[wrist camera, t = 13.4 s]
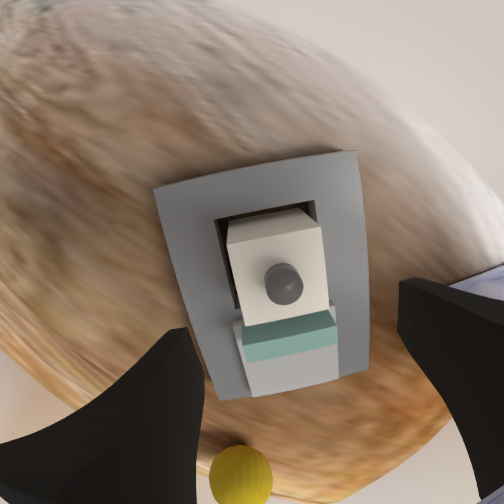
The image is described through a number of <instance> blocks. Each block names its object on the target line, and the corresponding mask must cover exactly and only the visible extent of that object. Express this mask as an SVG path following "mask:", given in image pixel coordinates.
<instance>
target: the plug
mask: <svg viewBox="0 0 504 504" xmlns="http://www.w3.org/2000/svg"><path fill="white" fill-rule="evenodd" d="M226 245H227V250H228V254H229V258H230V263H231V267H232V272H233V276H234V280H235V285H236V289H237V293H238V297H239V302H240V306H241V310H242V314H243V318H244V323H245V326H251V325H256V324H261V323H266V322H272V321H277V320H281V319H286V318H291V317H296V316H300V315H305V314H310V313H314V312H318V311H323V310H327V309H329V297H328V286H327V276H326V266H325V257H324V248H323V239H322V231H321V226H320V225H319V224H317V223H316V222H315V221H314V220H313V219H312V218H310V217H309V216H308V215H307V214H306V213H304V212H303V211H302V210H301V209H300V208H299V207H298V208H293V209H287V210H282V211H277V212H271V213H266V214H261V215H256V216H251V217H246V218H241V219H236V220H231V221H229V225H228V235H227V244H226Z"/></svg>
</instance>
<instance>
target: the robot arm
mask: <svg viewBox="0 0 504 504" xmlns="http://www.w3.org/2000/svg"><path fill="white" fill-rule="evenodd" d="M397 331H398V333H399V335H400V337H401V339H402V341H403V343H404V345H405V346H406V348H407V350H408V352H409V353H410V355H411V356H412V357H413V359H414V360H415V361H416V363H417V364H418V365H419V367H420V368H421V369H422V371H423V372H424V373H425V375H426V376H427V377H428V379H429V380H430V381H431V383H432V384H433V386H434V387H435V388H436V390H437V391H438V392H439V394H440V395H441V397H442V398H443V400H444V402H445V403H446V405H447V407H448V409H449V411H450V413H451V415H452V417H453V419H454V421H455V423H456V425H457V427H458V430H459V432H460V434H461V436H462V439H463V441H464V443H465V446H466V449H467V452H468V454H469V458H470V461H471V464H472V467H473V471H474V474H475V478H476V482H477V487H478V492H479V497H480V498H481V501H480V502H479V503H477V504H504V265H502V266H500V267H497V268H495V269H492V270H490V271H487V272H484V273H482V274H479V275H477V276H474V277H471V278H468V279H466V280H463V281H460V282H457V283H455V284H452V285H449V286H446V285H443V284H439V283H436V282H432V281H429V280H425V279H420V278H410V279H407V280H403V281H399V307H398V326H397ZM203 406H204V372H203V369H202V366H201V364H200V361H199V358H198V356H197V353H196V350H195V348H194V345H193V342H192V339H191V337H190V334H189V331H188V328H187V327H184V328H178V329H171V330H169V331H168V332H166V333H165V334H164V335H163V336H162V337H161V338H160V339H159V340H158V341H157V342H156V343H155V344H154V345H153V346H152V347H151V348H150V349H149V350H148V352H147V353H146V354H145V355H144V356H143V357H142V358H141V359H140V360H139V361H138V362H137V363H136V364H135V365H134V366H133V367H131V368H130V369H129V370H128V371H127V372H126V373H125V374H124V375H123V376H122V377H121V378H120V379H118V380H117V381H116V382H115V383H114V384H113V385H112V386H111V387H109V388H108V389H107V390H106V391H104V392H103V393H102V394H100V395H99V396H98V397H96V398H95V399H94V400H92V401H91V402H90V403H88V404H87V405H85V406H83V407H82V408H80V409H79V410H77V411H75V412H74V413H72V414H70V415H69V416H67V417H65V418H64V419H62V420H60V421H58V422H56V423H54V424H52V425H50V426H49V427H46V428H44V429H42V430H39V431H37V432H35V433H32V434H30V435H27V436H24V437H21V438H18V439H15V440H12V441H9V442H5V443H2V444H0V497H2V498H3V499H4V500H5V501H6V502H8V503H9V504H197V498H196V458H197V449H198V441H199V434H200V427H201V420H202V413H203Z"/></svg>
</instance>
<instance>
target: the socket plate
mask: <svg viewBox="0 0 504 504" xmlns="http://www.w3.org/2000/svg"><path fill="white" fill-rule="evenodd" d="M153 193H154V197H155V201H156V205H157V209H158V213H159V217H160V221H161V225H162V229H163V232H164V236H165V240H166V243H167V247H168V250H169V254H170V257H171V261H172V264H173V268H174V271H175V274H176V278H177V281H178V284H179V287H180V291H181V294H182V297H183V300H184V303H185V306H186V309H187V312H188V316H189V319H190V322H191V324H192V327H193V330H194V333H195V336H196V339H197V342H198V345H199V347H200V350H201V353H202V356H203V359H204V361H205V364H206V367H207V369H208V372H209V375H210V377H211V380H212V383H213V385H214V388H215V390H216V393H217V395H218V398H219V400H220V401H224V400H231V399H238V398H245V397H251V396H252V393H251V389H250V386H249V382H248V379H247V376H246V372H245V369H244V365H243V362H242V358H241V355H240V351H239V347H238V344H237V340H236V337H235V333H234V329H233V322H234V321H239V320H244V318H243V314H242V310H241V306H240V302H239V297H238V294H236V295H235V292H234V288H233V283H232V279H231V275H230V271H229V267H228V263H227V258H226V254H225V250H224V246H223V241H222V237H221V233H220V228H219V224H218V220H217V219H219V218H224V217H228V216H233V215H238V214H243V213H248V212H253V211H258V210H263V209H268V208H273V207H278V206H283V205H289V204H294V203H299V202H305V201H307V205H308V211H309V217H310V218H312V219H313V220H314V221H315V222H316V223H317V224H319V225H320V226H321V231H322V239H323V248H324V257H325V266H326V276H327V286H328V297H329V301H332V302H333V303H334V305H335V312H336V325H337V335H338V343H337V344H338V367H339V377H343V376H346V375H350V374H353V373H357V372H360V371H364V370H367V369H369V339H370V298H369V268H368V250H367V236H366V224H365V214H364V204H363V195H362V187H361V179H360V172H359V165H358V158H357V151H356V150H347V151H337V152H329V153H322V154H315V155H308V156H302V157H296V158H289V159H283V160H278V161H272V162H266V163H261V164H256V165H251V166H245V167H240V168H236V169H231V170H226V171H221V172H217V173H212V174H208V175H203V176H199V177H195V178H190V179H186V180H182V181H178V182H174V183H170V184H166V185H162V186H160V187H157V188H155V189H153Z"/></svg>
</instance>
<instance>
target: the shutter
mask: <svg viewBox="0 0 504 504" xmlns="http://www.w3.org/2000/svg"><path fill="white" fill-rule="evenodd" d="M233 329H234V333H235V337H236V340H237V344H238V347H239V351H240V355H241V358H242V362H243V365H244V369H245V372H246V376H247V379H248V382H249V386H250V389H251V393H252V396H253V397H258V396H264V395H269V394H275V393H280V392H285V391H290V390H295V389H299V388H304V387H308V386H312V385H316V384H321V383H325V382H329V381H332V380H336V379H339V367H338V344H337V343H338V335H337V325H336V312H335V305H334V303H333V302H332V301H329V309H327V310H323V311H318V312H314V313H310V314H305V315H300V316H296V317H291V318H286V319H281V320H277V321H272V322H266V323H261V324H256V325H251V326H245V323H244V320H239V321H234V322H233Z"/></svg>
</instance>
